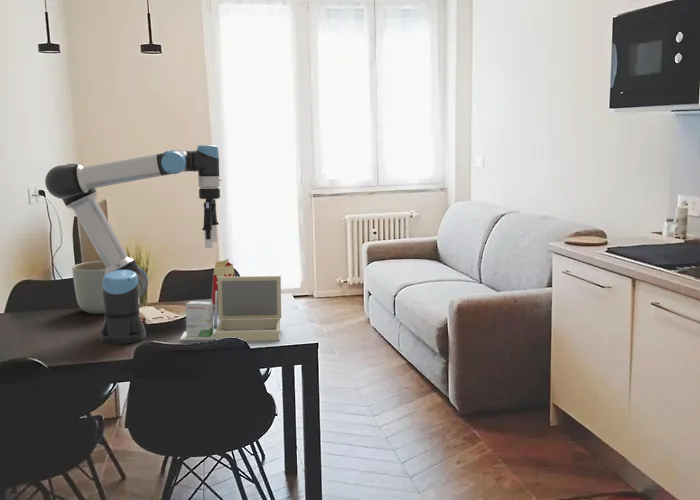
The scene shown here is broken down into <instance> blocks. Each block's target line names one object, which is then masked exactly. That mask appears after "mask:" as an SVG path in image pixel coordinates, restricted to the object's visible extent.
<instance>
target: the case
mask: <svg viewBox="0 0 700 500" xmlns="http://www.w3.org/2000/svg"><path fill="white" fill-rule="evenodd" d="M281 281H282V277H281V275H263V276H262V275H258V276H251V275H250V276H247V275H246V276H245V275H244V276H235V277H218V291H216V292H215V306H214V319H213V330H215V331H216V332H215V338H216V339H221V338H226V337H236V338H240V339H243V340H246V341H245V342H261V341H262V342H263V341H280V337H281V333H280V332H281V319H282V284H281V283H282V282H281ZM217 306H219V307H217ZM218 320H219V321H218Z"/></svg>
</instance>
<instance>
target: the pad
mask: <svg viewBox="0 0 700 500" xmlns="http://www.w3.org/2000/svg"><path fill="white" fill-rule="evenodd" d="M215 332H216V330H213V334H212V335H211V336H210V337H199V336H187V331H183V333H182V335H181V337H179V338H180V339H179V341H209V340H210V341H214V340H215V339H216V338H215ZM215 341H216V340H215Z"/></svg>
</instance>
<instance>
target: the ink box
mask: <svg viewBox="0 0 700 500" xmlns="http://www.w3.org/2000/svg"><path fill="white" fill-rule="evenodd" d="M213 308H214V306H213V302H212V301H197V300H195V301H193V300H191V301H188V302H187V303H185V317H186V318H185V321H186V325H185V327H186V332H187V336H199V337H210V336H211V335H212V334H213V331H214V309H213Z"/></svg>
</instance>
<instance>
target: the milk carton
mask: <svg viewBox="0 0 700 500" xmlns="http://www.w3.org/2000/svg"><path fill="white" fill-rule="evenodd" d="M214 263H215V265H214V267H213V275H212V277H213V278H212V288H211V289H212V291H211V292H212V293H211V302H213V307H215V292H216V291H218V277H236V273H235V268H234V265H233V263H231V262H229V258H228V259H227V258H226V259H225V260H221V261H220V260H219V261H217V260H216V261H214ZM217 308H219V306H217Z"/></svg>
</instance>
